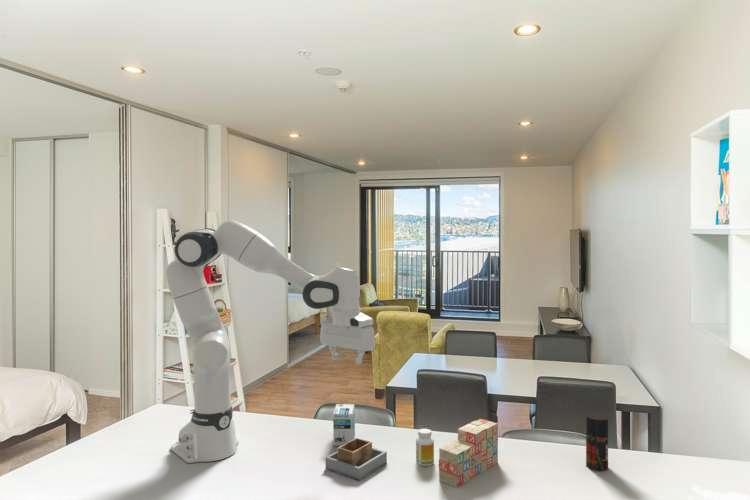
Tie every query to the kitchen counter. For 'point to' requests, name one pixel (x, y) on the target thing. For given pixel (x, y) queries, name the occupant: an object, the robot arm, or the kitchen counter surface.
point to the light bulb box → (343, 423)
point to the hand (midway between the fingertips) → (346, 361)
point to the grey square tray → (353, 471)
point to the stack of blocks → (469, 452)
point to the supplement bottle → (424, 448)
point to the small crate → (355, 452)
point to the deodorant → (597, 442)
